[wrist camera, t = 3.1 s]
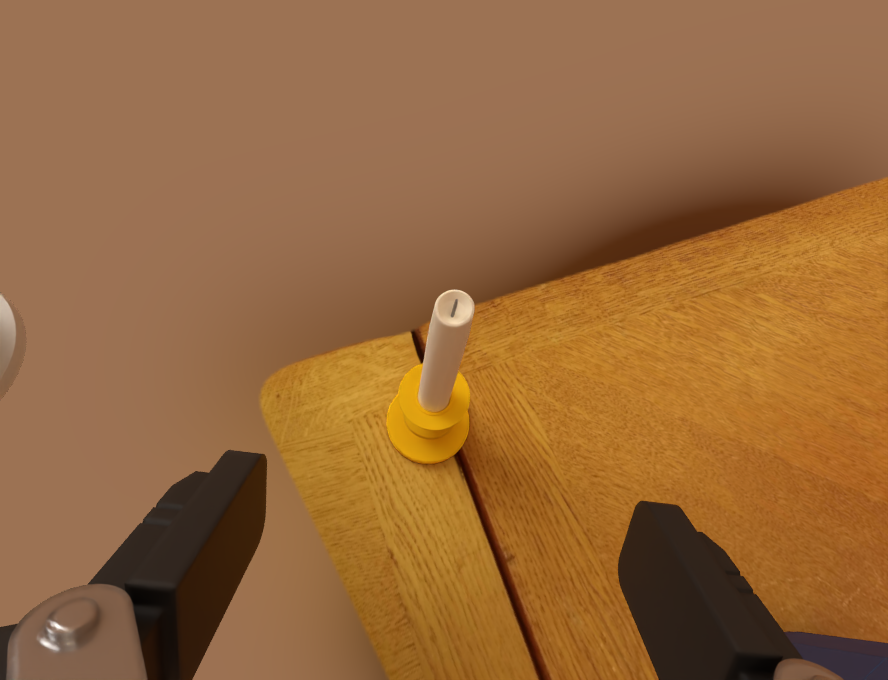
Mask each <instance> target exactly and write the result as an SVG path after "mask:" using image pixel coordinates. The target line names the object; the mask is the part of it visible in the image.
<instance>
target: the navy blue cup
mask: <svg viewBox="0 0 888 680" xmlns="http://www.w3.org/2000/svg"><path fill="white" fill-rule="evenodd" d="M784 633H785V634H786V636H787V637H788V639H789V640H790V641H791V643H792V644H793V645H794V647H795V648H796V649H797V651H798V652H799V654H800V655H801V656H802V658H803V659H804V660H806V661H810V662H813V663H815V664H818V665H820V666H822V667H824V668H826V669H828V670H830V671H832V672H834V673H835V674H837V675H838V676H840V677H841V678H843V679H844V680H888V643H881V642H874V641H866V640H858V639H850V638H842V637H835V636H827V635H819V634H811V633H803V632H784Z"/></svg>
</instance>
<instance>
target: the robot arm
mask: <svg viewBox="0 0 888 680" xmlns="http://www.w3.org/2000/svg"><path fill="white" fill-rule="evenodd" d="M266 476H267V459H266V456H265V455H264V454H258V453H250V452H241V451H233V450H228V451H226V452H225V453H224V454H223V456H222V457H221V458H220V459H219V461H218V462H217V464H216V465H215V466H214V467H213V469H212V470H211V471H210V472H209V473H206V472H198V471H195V472H194V473H192V474H190V475H189V476H188V477H186V478H184V479H182V480H181V481H179V482H177V483H176V484H174V485H173V486H171V488H170V489H169V490H168V491H167V492H166V493H165V495H164V496H163V497H162V498H161V499H160V500H159V502H158V503H157V505H156V508H154V507H153V509H152V510H151V511H150V512H149V513H148V514H147V516H146V517H145V518H144V519H143V523H140V524H139V525H138V526H137V527H136V529H135V530H134V531H133V532H132V533H131V534H130V535H129V537H128V538H127V539H126V540H125V541H124V543H123V544H122V545H121V546H120V547H119V548H118V550H117V551H116V552H115V553H114V554H113V555H112V557H111V558H110V559H109V560H108V561H107V562H106V564H105V565H104V566H103V567H102V568H101V569H100V571H99V572H98V573H97V574H96V575H95V576H94V578H93V579H92V580H91V581H90V582H89V583H88V585H83V586H79V587H75V588H71V589H69V590H66V591H64V592H61V593H58V594H56V595H54V596H52V597H50V598H48V599H47V600H45V601H43V602H42V603H40V604H39V605H37V606H36V607H35V608H33V609H32V610H31V611H30V612H29V613H27V614H26V615H25V616H24V617H23V618H22V620H21V621H20V622H19V623H18V624H15V625H9V626H4V627H0V680H192V679H193V677H194V675H195V673H196V671H197V669H198V667H199V665H200V663H201V661H202V659H203V656H204V655H205V652H206V650H207V648H208V646H209V644H210V642H211V640H212V638H213V636H214V634H215V632H216V630H217V628H218V626H219V624H220V622H221V620H222V618H223V616H224V614H225V612H226V610H227V608H228V606H229V604H230V602H231V600H232V598H233V596H234V594H235V592H236V590H237V587H238V585H239V584H240V582H241V579H242V577H243V575H244V573H245V571H246V569H247V567H248V565H249V563H250V561H251V559H252V557H253V555H254V553H255V551H256V549H257V547H258V544H259V542H260V539H261V536H262V532H263V528H264V523H265V513H266V479H267V478H266ZM618 576H619V582H620V586H621V589H622V592H623V594H624V597H625V599H626V601H627V604H628V606H629V609H630V611H631V613H632V616H633V618H634V621H635V623H636V625H637V628H638V630H639V633H640V635H641V637H642V640H643V642H644V644H645V647H646V649H647V652H648V654H649V656H650V659H651V661H652V664H653V666H654V668H655V671H656V673H657V676H658V678H659V680H844V679H843V678H841V677H840V676H838V675H837V674H835V673H834V672H832V671H830V670H828V669H826V668H824V667H822V666H820V665H818V664H815V663H813V662H810V661H806V660H804V659H803V658H802V656H801V655H800V654H799V652H798V651H797V649H796V648H795V647H794V645H793V644H792V643H791V641H790V640H789V639H788V637H787V636H786V634H785V633H784V632H783V630H782V629H781V628H780V626H779V625H778V623H777V622H776V621H775V619H774V618H773V617H772V615H771V614H770V612H769V611H768V610H767V608H766V607H765V606H764V604H763V603H762V601H761V600H760V599H759V597H758V596H757V595H756V594H753V589H752V588H751V586H750V585H749V584H748V582H747V581H746V579H745V578H744V577H743V576H740V571H739V570H738V568H737V567H736V566H735V564H734V563H733V562H732V560H731V559H730V557H729V556H728V555H727V553H726V552H725V551H724V550H723V549H722V548H721V547H719V546H718V545H717V544H716V543H715V542H713V541H712V540H711V539H710V538H709V537H707V536H706V535H705V534H704V533H703V532H697V531H696V529H695V528H694V526H693V525H692V523H691V522H690V521H689V519H688V518H687V516H686V515H685V513H684V512H683V510H682V509H681V508H680V507H679V506H677V505H673V504H665V503H656V502H648V501H640V502H639V503H638V504H637V505H636V507H635V510H634V513H633V516H632V519H631V522H630V525H629V528H628V531H627V535H626V538H625V541H624V544H623V547H622V550H621V553H620V557H619V563H618Z"/></svg>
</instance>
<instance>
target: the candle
mask: <svg viewBox="0 0 888 680" xmlns="http://www.w3.org/2000/svg"><path fill="white" fill-rule="evenodd" d="M474 311H475V306H474V303H473V300H472V299H471V297H470V296H469V295H468V294H467V293H465V292H463V291H460V290H450V291H447V292H445V293H443V294H441V295H440V296H439V297H438V299H437V301H436V303H435V307H434V310H433V314H432V318H431V322H430V326H429V332H428V338H427V344H426V350H425V356H424V362H423V363H422V364H419V365H417V366H415V367H413V368H412V369H411V370H410V371H409V372H408V373H406V375H405V376H404V378H403V379H402V381H401V384H400V387H399V390H398V395H396V396H395V398H394V400H393V401H392V403H391V404H390V407H389V410H388V413H387V431H388V435H389V439H390V440H391V442H392V444H393V446H394V448H395V449H396V450H397V451H398V452H399V453H400V454H401V455H402V456H404V457H406V458H408V459H409V460H411V461H414V462H417V463H421V464H435V463H439V462H443V461H445V460H447V459H449V458H450V457H452V456H454V455H455V454H456V453H457V452H458V451H459V450H460V449H461V447H462V446H463V444H464V442H465V440H466V438H467V436H468V431H469V427H470V424H469V414H468V411H467V410H468V407H469V403H470V390H469V387H468V384H467V382H466V380H465V379H464V377H463V375H462V374H461V373H460V372H459V371H458V370H459V366H460V363H461V360H462V356H463V353H464V350H465V347H466V343H467V340H468V337H469V333H470V329H471V324H472V319H473V315H474Z"/></svg>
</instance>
